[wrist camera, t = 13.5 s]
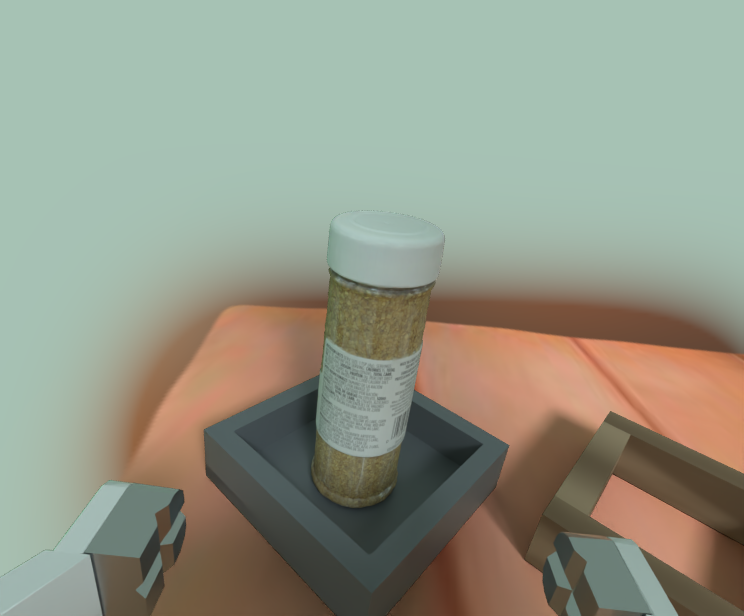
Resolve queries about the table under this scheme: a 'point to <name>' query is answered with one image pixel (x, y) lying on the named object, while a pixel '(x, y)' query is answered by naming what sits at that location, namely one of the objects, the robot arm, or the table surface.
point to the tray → (344, 524)
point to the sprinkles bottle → (371, 349)
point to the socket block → (659, 478)
